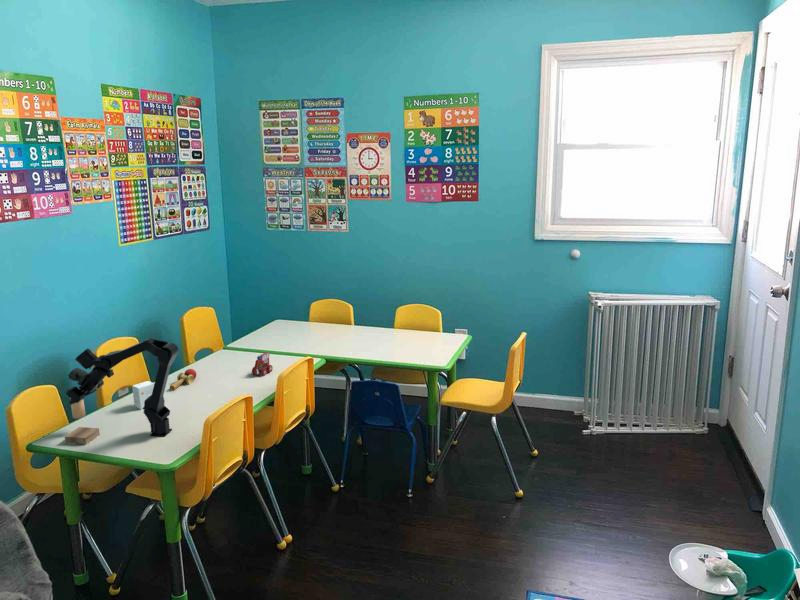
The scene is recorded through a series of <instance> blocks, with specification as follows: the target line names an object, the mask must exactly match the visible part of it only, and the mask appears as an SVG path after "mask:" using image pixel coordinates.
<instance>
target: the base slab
mask: <svg viewBox="0 0 800 600" xmlns="http://www.w3.org/2000/svg"><path fill="white" fill-rule="evenodd" d="M100 434H101V433H100V427H99V428H98V427H86V426H85V427H83V426H78V427H77V428H76V429H73V430H72V431H71V432H70V433H67V435H65V436H64V439H65V440H64V441H65V444H66V443H75V444H74V445H81V444H87V443H88V444H89V443H91V442H92V441H93V439H94V440H95V439H96V438H97V436H98V437H99V436H100ZM90 441H91V442H90ZM88 444H87V445H88Z"/></svg>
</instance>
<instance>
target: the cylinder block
mask: <svg viewBox="0 0 800 600" xmlns="http://www.w3.org/2000/svg"><path fill="white" fill-rule="evenodd" d="M70 399H71V398H70V397H69V400H70ZM84 402H85V399H83V400H81V401H80V402H78V403H74V404H70V407H71V414H72V418H73V419H81V418H83V417H85V416H86V415H87V414H86V409H85V403H84Z"/></svg>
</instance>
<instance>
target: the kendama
mask: <svg viewBox="0 0 800 600" xmlns="http://www.w3.org/2000/svg"><path fill="white" fill-rule="evenodd" d="M196 377H197V371H196V370H195V369H193V368H188V369H186V370H185V371H184V372H179V373H178V374H177V377H176V379H177V381H175V382H174V383H173V384H171V385H169V390H170V391H172V390H173V391H175V390H176V389H178V387H180V386H181V385H182V384H183V383H184V382H186V384H187V385H191V384H192V383H194V380H195V379H196Z"/></svg>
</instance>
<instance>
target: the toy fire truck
mask: <svg viewBox="0 0 800 600" xmlns="http://www.w3.org/2000/svg"><path fill="white" fill-rule="evenodd" d="M272 371H273V365H272V364H270V352H269V351H265V352H263V353H262V354H260V355H258V356H257V358H256V360H255V364H254V366H253V367H252V368H251V374H252V375H255V374H256V375H261V376H263V377H265V376H267V373H269V374H270V372H272Z"/></svg>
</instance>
